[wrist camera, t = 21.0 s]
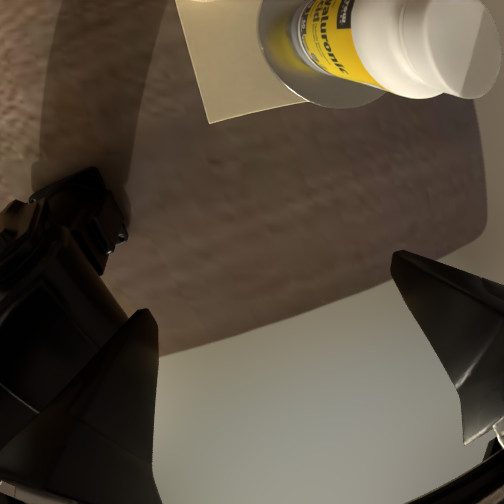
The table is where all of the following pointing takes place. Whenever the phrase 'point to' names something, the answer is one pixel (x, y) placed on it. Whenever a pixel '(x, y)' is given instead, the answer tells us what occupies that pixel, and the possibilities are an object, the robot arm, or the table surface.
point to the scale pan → (303, 60)
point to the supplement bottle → (405, 44)
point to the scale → (230, 58)
